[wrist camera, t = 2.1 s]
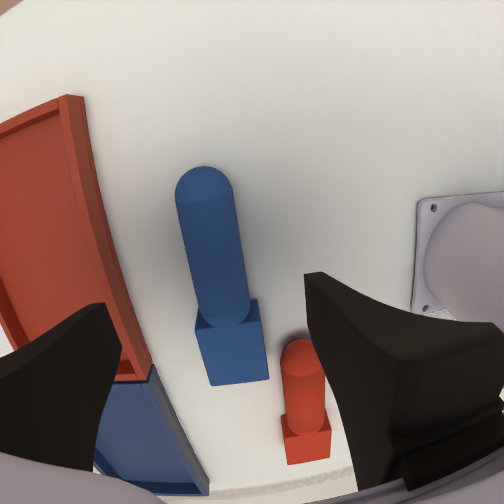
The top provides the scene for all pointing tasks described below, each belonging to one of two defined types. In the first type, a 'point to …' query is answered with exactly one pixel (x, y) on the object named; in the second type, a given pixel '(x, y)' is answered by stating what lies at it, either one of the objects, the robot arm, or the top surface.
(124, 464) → the blue tray
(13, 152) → the red tray
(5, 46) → the top surface
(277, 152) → the top surface
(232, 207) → the blue block-ended rod
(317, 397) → the red block-ended rod
